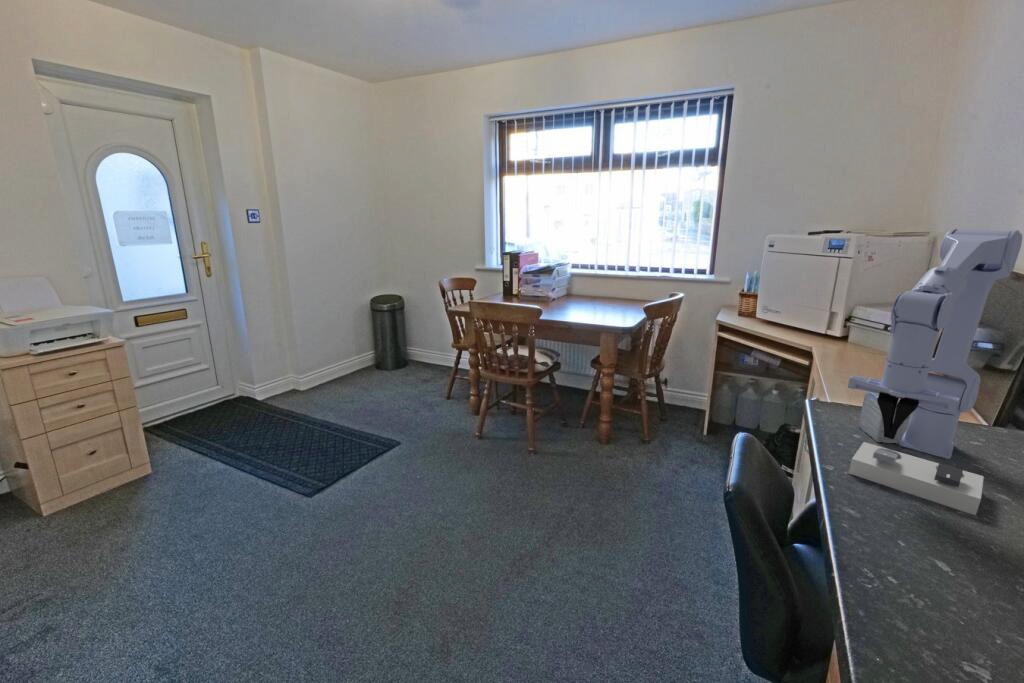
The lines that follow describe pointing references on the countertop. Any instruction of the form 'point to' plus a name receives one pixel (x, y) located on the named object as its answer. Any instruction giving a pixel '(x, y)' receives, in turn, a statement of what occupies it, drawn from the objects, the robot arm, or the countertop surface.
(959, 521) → the countertop surface
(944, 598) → the countertop surface
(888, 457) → the block
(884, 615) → the countertop surface
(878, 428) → the medicine box
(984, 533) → the countertop surface
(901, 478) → the switch panel
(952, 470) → the block
